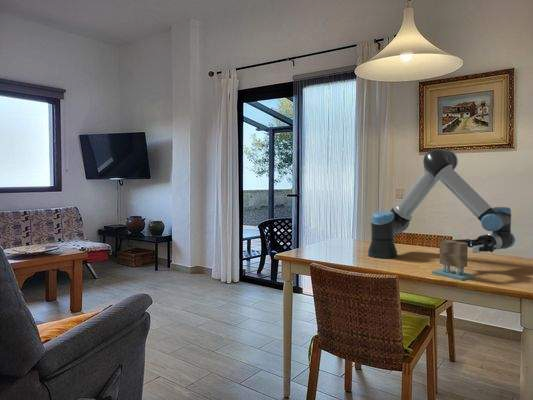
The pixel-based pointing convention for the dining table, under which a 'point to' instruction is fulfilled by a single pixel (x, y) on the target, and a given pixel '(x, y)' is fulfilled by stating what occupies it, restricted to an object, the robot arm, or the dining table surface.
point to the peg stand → (453, 273)
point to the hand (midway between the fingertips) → (458, 247)
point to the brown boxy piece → (453, 253)
